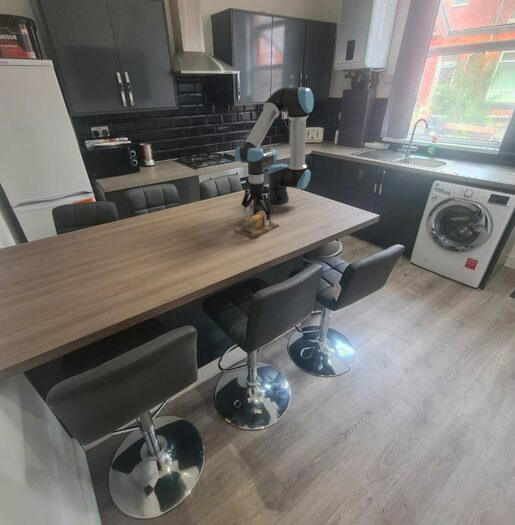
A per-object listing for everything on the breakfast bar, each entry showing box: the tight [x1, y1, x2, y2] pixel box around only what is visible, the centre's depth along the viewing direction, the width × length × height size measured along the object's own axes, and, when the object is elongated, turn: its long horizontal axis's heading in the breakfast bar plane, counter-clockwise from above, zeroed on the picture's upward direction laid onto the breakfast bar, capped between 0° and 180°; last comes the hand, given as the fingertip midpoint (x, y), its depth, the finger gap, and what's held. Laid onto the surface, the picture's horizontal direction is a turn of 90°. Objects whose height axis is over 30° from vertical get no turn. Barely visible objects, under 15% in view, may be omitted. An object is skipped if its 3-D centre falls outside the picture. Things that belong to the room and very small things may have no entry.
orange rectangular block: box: [250, 214, 263, 228], centre depth 154 cm, size 5×4×6 cm
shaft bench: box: [234, 211, 280, 240], centre depth 154 cm, size 20×14×7 cm
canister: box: [252, 185, 270, 216], centre depth 167 cm, size 10×10×18 cm
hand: (257, 221), depth 154 cm, fingers open, 13 cm apart
